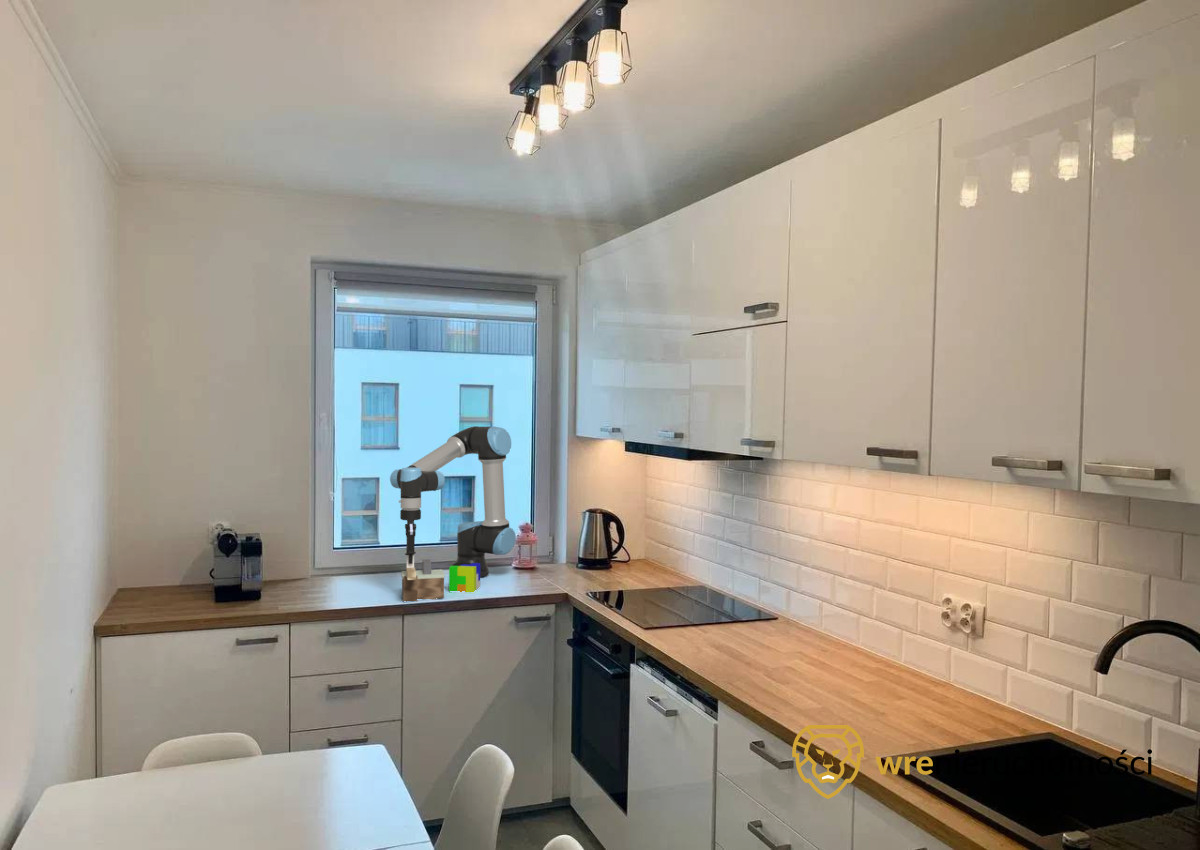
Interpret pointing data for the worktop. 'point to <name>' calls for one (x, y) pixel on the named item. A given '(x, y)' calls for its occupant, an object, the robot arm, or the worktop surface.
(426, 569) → the lid
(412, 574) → the light wooden block
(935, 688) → the worktop surface
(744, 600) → the worktop surface
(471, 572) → the puzzle toy
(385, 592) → the worktop surface
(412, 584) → the box
